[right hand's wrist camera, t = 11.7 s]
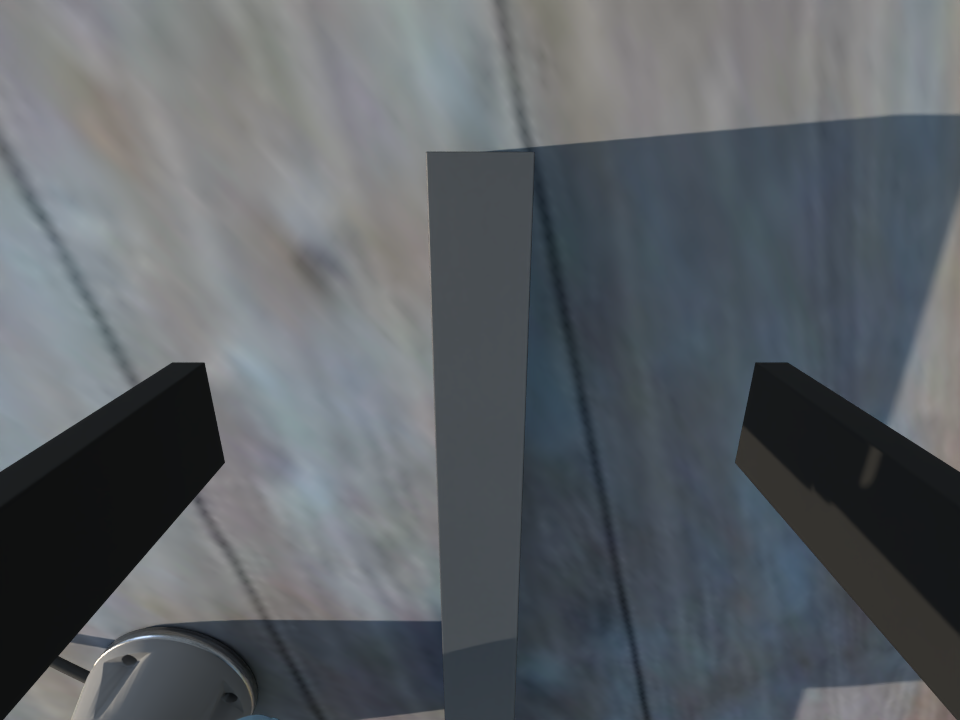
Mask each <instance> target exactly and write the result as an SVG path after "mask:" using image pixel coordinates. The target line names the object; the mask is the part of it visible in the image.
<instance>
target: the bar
mask: <svg viewBox="0 0 960 720" xmlns="http://www.w3.org/2000/svg"><path fill="white" fill-rule="evenodd" d="M534 162H535V152H426V166H427V196H428V226H429V256H430V286H431V316H432V346H433V376H434V406H435V436H436V466H437V496H438V526H439V556H440V586H441V616H442V646H443V677H444V707H445V720H514V712H515V685H516V657H517V630H518V602H519V575H520V547H521V520H522V492H523V465H524V437H525V410H526V382H527V355H528V327H529V300H530V272H531V245H532V217H533V190H534Z"/></svg>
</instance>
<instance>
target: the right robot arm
mask: <svg viewBox="0 0 960 720" xmlns="http://www.w3.org/2000/svg"><path fill="white" fill-rule="evenodd" d="M224 463H225V461H224V456H223V451H222V446H221V441H220V436H219V431H218V426H217V421H216V416H215V412H214V407H213V402H212V397H211V392H210V387H209V382H208V377H207V372H206V368H205V363H171V364H169V365H168V366H166V367H165V368H163V369H162V370H160V371H158V372H157V373H155V374H154V375H152V376H150V377H149V378H147V379H146V380H144V381H143V382H141V383H139V384H138V385H136V386H135V387H133V388H132V389H130V390H128V391H127V392H125V393H124V394H122V395H121V396H119V397H117V398H116V399H114V400H113V401H111V402H110V403H108V404H106V405H105V406H103V407H102V408H100V409H99V410H97V411H95V412H94V413H92V414H91V415H89V416H88V417H86V418H84V419H83V420H81V421H80V422H78V423H77V424H75V425H73V426H72V427H70V428H69V429H67V430H66V431H64V432H62V433H61V434H59V435H58V436H56V437H55V438H53V439H51V440H50V441H48V442H47V443H45V444H44V445H42V446H40V447H39V448H37V449H36V450H34V451H33V452H31V453H29V454H28V455H26V456H25V457H23V458H22V459H20V460H18V461H17V462H15V463H14V464H12V465H11V466H9V467H7V468H6V469H4V470H3V471H1V472H0V720H3V719H4V718H5V717H6V716H7V715H8V714H9V712H10V711H11V710H12V709H13V708H14V707H15V705H16V704H17V703H18V702H19V701H20V700H21V699H22V697H23V696H24V695H25V694H26V693H27V692H28V690H29V689H30V688H31V687H32V686H33V685H34V683H35V682H36V681H37V680H38V679H39V678H40V676H41V675H42V674H43V673H44V672H45V671H46V670H47V668H48V667H49V666H50V665H51V664H52V663H53V661H54V660H55V659H56V658H57V657H58V656H59V654H60V653H61V652H62V651H63V650H64V649H65V647H66V646H67V645H68V644H69V643H70V642H71V641H72V639H73V638H74V637H75V636H76V635H77V634H78V632H79V631H80V630H81V629H82V628H83V627H84V625H85V624H86V623H87V622H88V621H89V620H90V619H91V617H92V616H93V615H94V614H95V613H96V612H97V610H98V609H99V608H100V607H101V606H102V605H103V603H104V602H105V601H106V600H107V599H108V598H109V596H110V595H111V594H112V593H113V592H114V591H115V590H116V588H117V587H118V586H119V585H120V584H121V583H122V581H123V580H124V579H125V578H126V577H127V576H128V574H129V573H130V572H131V571H132V570H133V569H134V567H135V566H136V565H137V564H138V563H139V562H140V561H141V559H142V558H143V557H144V556H145V555H146V554H147V552H148V551H149V550H150V549H151V548H152V547H153V545H154V544H155V543H156V542H157V541H158V540H159V539H160V537H161V536H162V535H163V534H164V533H165V532H166V530H167V529H168V528H169V527H170V526H171V525H172V523H173V522H174V521H175V520H176V519H177V518H178V516H179V515H180V514H181V513H182V512H183V511H184V510H185V508H186V507H187V506H188V505H189V504H190V503H191V501H192V500H193V499H194V498H195V497H196V496H197V494H198V493H199V492H200V491H201V490H202V489H203V487H204V486H205V485H206V484H207V483H208V482H209V481H210V479H211V478H212V477H213V476H214V475H215V474H216V472H217V471H218V470H219V469H220V468H221V467H222V465H223V464H224ZM735 463H736V464H737V465H738V467H739V468H740V469H741V470H742V471H743V472H744V474H745V475H746V476H747V477H748V478H749V479H750V481H751V482H752V483H753V484H754V485H755V486H756V487H757V489H758V490H759V491H760V492H761V493H762V494H763V496H764V497H765V498H766V499H767V500H768V501H769V503H770V504H771V505H772V506H773V507H774V508H775V510H776V511H777V512H778V513H779V514H780V515H781V516H782V518H783V519H784V520H785V521H786V522H787V523H788V525H789V526H790V527H791V528H792V529H793V530H794V532H795V533H796V534H797V535H798V536H799V537H800V539H801V540H802V541H803V542H804V543H805V544H806V545H807V547H808V548H809V549H810V550H811V551H812V552H813V554H814V555H815V556H816V557H817V558H818V559H819V561H820V562H821V563H822V564H823V565H824V566H825V567H826V569H827V570H828V571H829V572H830V573H831V574H832V576H833V577H834V578H835V579H836V580H837V581H838V583H839V584H840V585H841V586H842V587H843V588H844V590H845V591H846V592H847V593H848V594H849V595H850V596H851V598H852V599H853V600H854V601H855V602H856V603H857V605H858V606H859V607H860V608H861V609H862V610H863V612H864V613H865V614H866V615H867V616H868V617H869V619H870V620H871V621H872V622H873V623H874V624H875V625H876V627H877V628H878V629H879V630H880V631H881V632H882V634H883V635H884V636H885V637H886V638H887V639H888V641H889V642H890V643H891V644H892V645H893V646H894V647H895V649H896V650H897V651H898V652H899V653H900V654H901V656H902V657H903V658H904V659H905V660H906V661H907V663H908V664H909V665H910V666H911V667H912V668H913V670H914V671H915V672H916V673H917V674H918V675H919V676H920V678H921V679H922V680H923V681H924V682H925V683H926V685H927V686H928V687H929V688H930V689H931V690H932V692H933V693H934V694H935V695H936V696H937V697H938V699H939V700H940V701H941V702H942V703H943V704H944V705H945V707H946V708H947V709H948V710H949V711H950V712H951V714H952V715H953V716H954V717H955V718H956V719H957V720H960V472H959V471H957V470H956V469H954V468H953V467H951V466H949V465H948V464H946V463H945V462H943V461H942V460H940V459H938V458H937V457H935V456H934V455H932V454H931V453H929V452H927V451H926V450H924V449H923V448H921V447H920V446H918V445H916V444H915V443H913V442H912V441H910V440H909V439H907V438H905V437H904V436H902V435H901V434H899V433H898V432H896V431H894V430H893V429H891V428H890V427H888V426H887V425H885V424H883V423H882V422H880V421H879V420H877V419H876V418H874V417H872V416H871V415H869V414H868V413H866V412H865V411H863V410H861V409H860V408H858V407H857V406H855V405H854V404H852V403H850V402H849V401H847V400H846V399H844V398H843V397H841V396H839V395H838V394H836V393H835V392H833V391H832V390H830V389H828V388H827V387H825V386H824V385H822V384H821V383H819V382H817V381H816V380H814V379H813V378H811V377H810V376H808V375H806V374H805V373H803V372H802V371H800V370H798V369H797V368H795V367H794V366H792V365H791V364H789V363H755V368H754V372H753V377H752V382H751V387H750V392H749V397H748V402H747V407H746V412H745V416H744V421H743V426H742V431H741V436H740V441H739V446H738V451H737V456H736V461H735Z"/></svg>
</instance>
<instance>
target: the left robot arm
mask: <svg viewBox="0 0 960 720" xmlns="http://www.w3.org/2000/svg"><path fill="white" fill-rule="evenodd" d="M50 667H52V668H54V669H56V670H58V671H60V672H62V673H64V674H66V675H68V676H70V677H72V678H75V679H77V680H79V681H81V682H83V683H85V685H84V687H83V690H82V692H81V695H80V698H79V700H78V703H77V705H76V708H75V711H74V713H73V716H72V718H71V720H279V719H276V718H269V717H267V716H264V715H252V714H253V711H254V709H255V706H256V704H257V699H258V689H257V684H256V680H255V678H254V675H253V673H252V671H251V670H250V668H249V667H248V665H247V664H246V663H245V662H244V660H243V659H242V658H241V657H240V656H239V655H237V654H236V653H235V652H234V651H233V650H231V649H230V648H229V647H227V646H226V645H224V644H222V643H221V642H219V641H217V640H215V639H213V638H211V637H209V636H206V635H204V634H201V633H198V632H194V631H191V630H186V629H181V628H173V627H151V628H144V629H139V630H136V631H133V632H130V633H127V634H125V635H123V636H121V637H119V638H118V639H116V640H115V641H114V642H113V643H111V644H110V645H109V646H108V647H107V649H106V650H105V651H104V653H103V654H102V655H101V656H100V658H99V659H98V660H97V662H96V663H95V665H94V667H93V668H92V670H91V672H90V671H88V670H85V669H83V668H81V667H79V666H77V665H75V664H73V663H71V662H69V661H67V660H65V659H63V658H61V657H59V656H58V657H57V658H56V659H55V660H54V661H53V663H52V664H51V665H50Z"/></svg>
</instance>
